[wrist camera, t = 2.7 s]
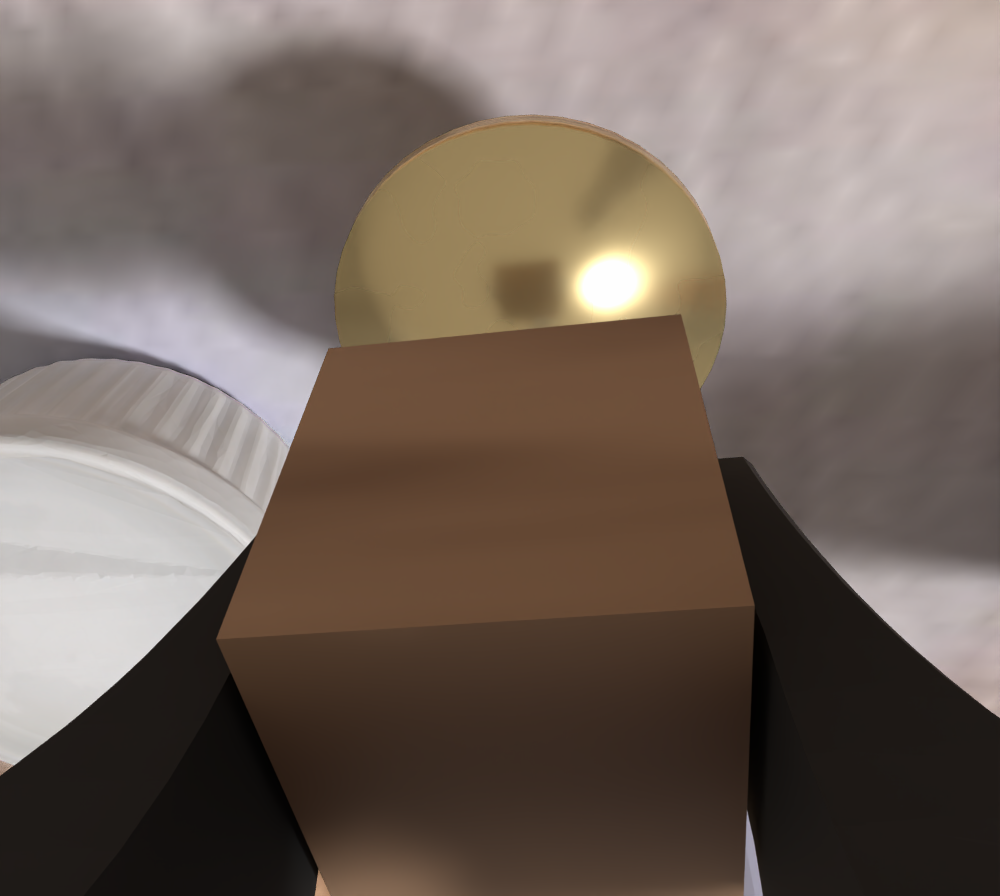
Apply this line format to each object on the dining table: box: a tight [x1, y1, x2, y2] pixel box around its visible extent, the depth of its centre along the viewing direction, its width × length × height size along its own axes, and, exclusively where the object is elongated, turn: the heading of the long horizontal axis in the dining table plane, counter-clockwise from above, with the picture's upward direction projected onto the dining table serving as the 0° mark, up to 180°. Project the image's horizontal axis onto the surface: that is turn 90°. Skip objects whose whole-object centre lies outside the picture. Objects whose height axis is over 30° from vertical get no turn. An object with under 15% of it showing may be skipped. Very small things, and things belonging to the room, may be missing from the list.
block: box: [216, 314, 755, 896], centre depth 11 cm, size 4×4×5 cm
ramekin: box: [0, 358, 290, 765], centre depth 23 cm, size 11×11×5 cm
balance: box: [334, 115, 726, 389], centre depth 22 cm, size 21×7×6 cm, turn 7°
